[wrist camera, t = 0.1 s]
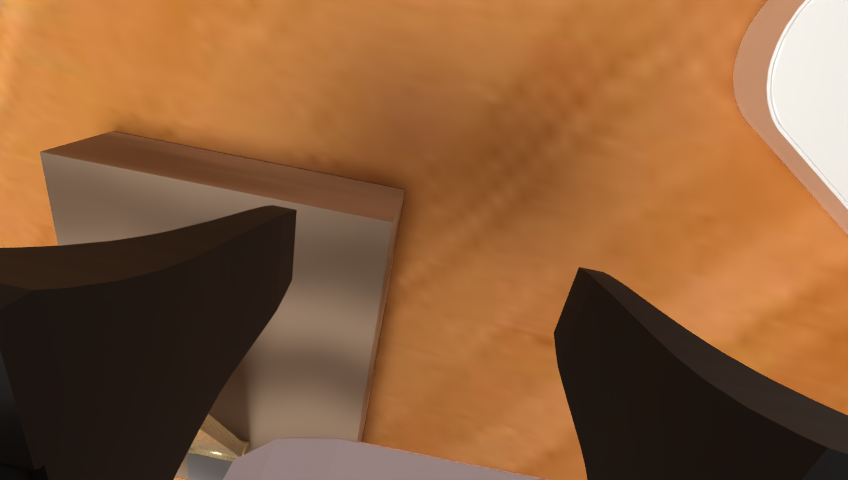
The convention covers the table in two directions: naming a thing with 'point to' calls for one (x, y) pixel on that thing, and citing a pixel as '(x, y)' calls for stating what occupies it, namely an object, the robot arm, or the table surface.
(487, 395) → the table surface
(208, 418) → the hasp
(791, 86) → the computer
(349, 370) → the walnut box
